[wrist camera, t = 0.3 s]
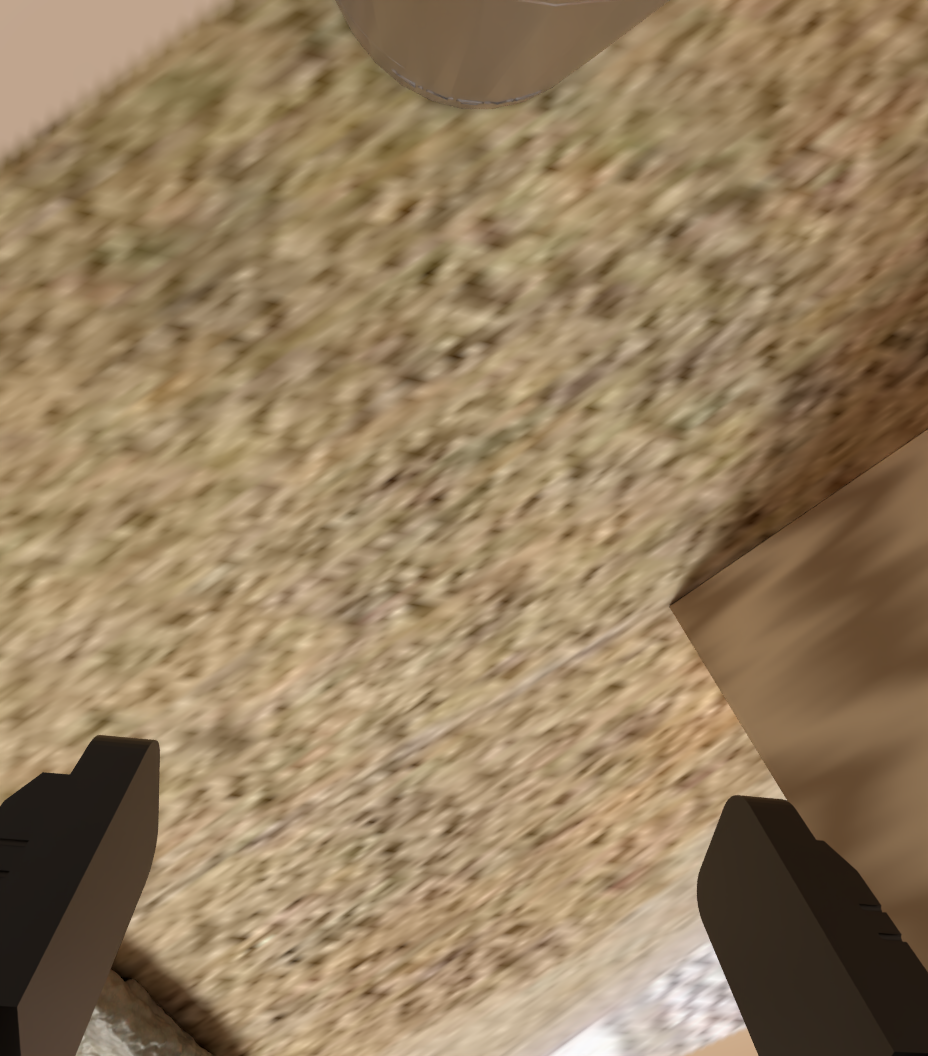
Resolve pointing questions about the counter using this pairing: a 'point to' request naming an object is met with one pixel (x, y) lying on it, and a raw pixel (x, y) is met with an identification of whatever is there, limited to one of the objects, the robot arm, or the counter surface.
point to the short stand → (839, 672)
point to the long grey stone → (133, 1025)
